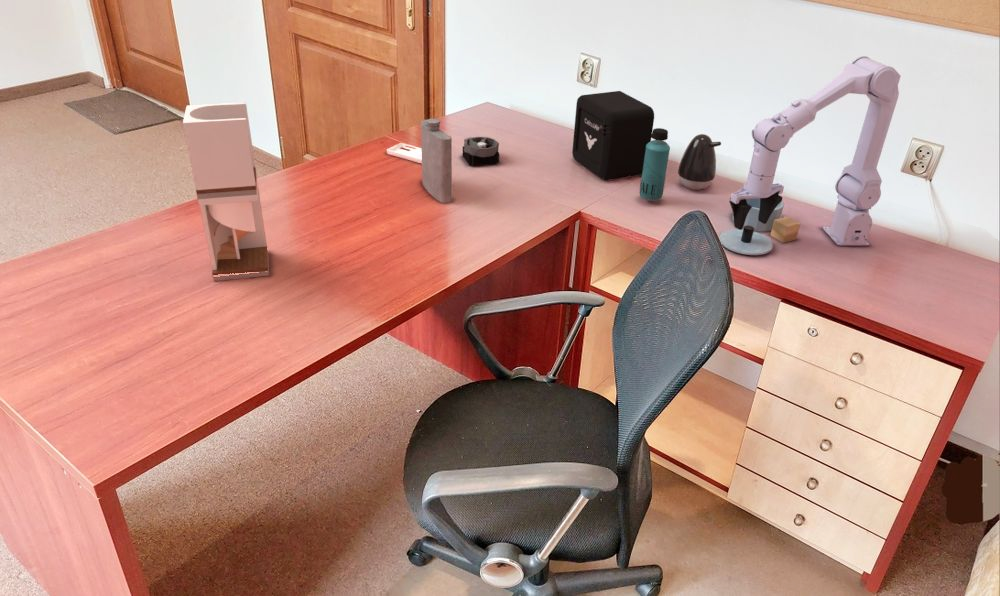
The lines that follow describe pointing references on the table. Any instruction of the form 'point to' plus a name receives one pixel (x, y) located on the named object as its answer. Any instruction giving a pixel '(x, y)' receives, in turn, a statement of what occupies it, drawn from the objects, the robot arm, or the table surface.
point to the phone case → (406, 152)
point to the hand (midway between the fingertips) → (750, 225)
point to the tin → (754, 212)
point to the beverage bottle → (655, 166)
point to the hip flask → (436, 160)
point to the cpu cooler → (480, 151)
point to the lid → (746, 241)
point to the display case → (227, 188)
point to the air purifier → (612, 134)
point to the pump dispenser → (698, 163)
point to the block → (785, 229)
